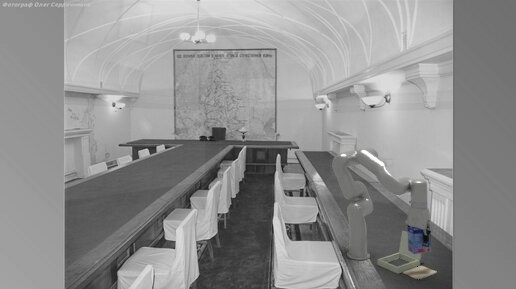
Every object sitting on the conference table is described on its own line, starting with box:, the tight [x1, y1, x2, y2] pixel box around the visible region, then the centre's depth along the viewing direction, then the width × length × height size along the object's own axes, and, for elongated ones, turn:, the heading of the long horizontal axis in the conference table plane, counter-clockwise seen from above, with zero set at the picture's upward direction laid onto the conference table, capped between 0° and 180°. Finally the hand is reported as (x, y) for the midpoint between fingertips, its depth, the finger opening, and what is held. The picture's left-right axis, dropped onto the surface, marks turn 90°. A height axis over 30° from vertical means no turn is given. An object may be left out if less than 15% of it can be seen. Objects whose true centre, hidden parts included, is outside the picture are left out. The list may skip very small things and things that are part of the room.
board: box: [402, 265, 437, 281], centre depth 177 cm, size 9×14×1 cm, turn 119°
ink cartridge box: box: [407, 226, 432, 254], centre depth 175 cm, size 10×6×14 cm, turn 100°
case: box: [377, 230, 423, 274], centre depth 187 cm, size 13×21×15 cm, turn 119°
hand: (419, 239), depth 175 cm, fingers closed on ink cartridge box, 6 cm apart
